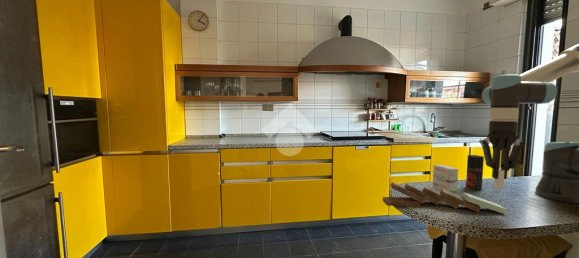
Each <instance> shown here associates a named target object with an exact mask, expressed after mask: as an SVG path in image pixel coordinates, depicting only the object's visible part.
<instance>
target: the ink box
mask: <svg viewBox="0 0 579 258" xmlns="http://www.w3.org/2000/svg"><path fill="white" fill-rule="evenodd" d="M432 172H433V173H432V188H433V189H435V190H437V191H439V192H441V190H442V188H443V189H445V190H447V191H450V192H452V193H454V194H457V195H458V184H459V183H458V181H459V177H458V176H459V169H458V168H456V167H452V166H449V165H448V166H447V165H444V164H434V165H433V170H432Z"/></svg>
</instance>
